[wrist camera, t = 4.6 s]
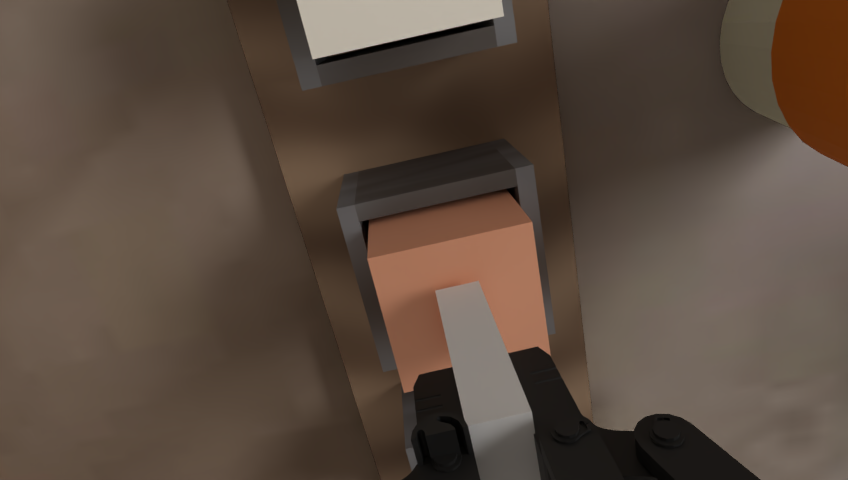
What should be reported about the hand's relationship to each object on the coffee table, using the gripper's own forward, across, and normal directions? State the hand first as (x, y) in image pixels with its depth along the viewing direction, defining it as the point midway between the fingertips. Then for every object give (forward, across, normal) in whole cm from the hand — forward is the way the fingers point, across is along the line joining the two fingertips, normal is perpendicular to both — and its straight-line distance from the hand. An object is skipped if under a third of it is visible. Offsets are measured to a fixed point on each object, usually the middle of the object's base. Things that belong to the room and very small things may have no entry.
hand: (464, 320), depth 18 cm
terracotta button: (+6, 0, 0) cm, 6 cm away
